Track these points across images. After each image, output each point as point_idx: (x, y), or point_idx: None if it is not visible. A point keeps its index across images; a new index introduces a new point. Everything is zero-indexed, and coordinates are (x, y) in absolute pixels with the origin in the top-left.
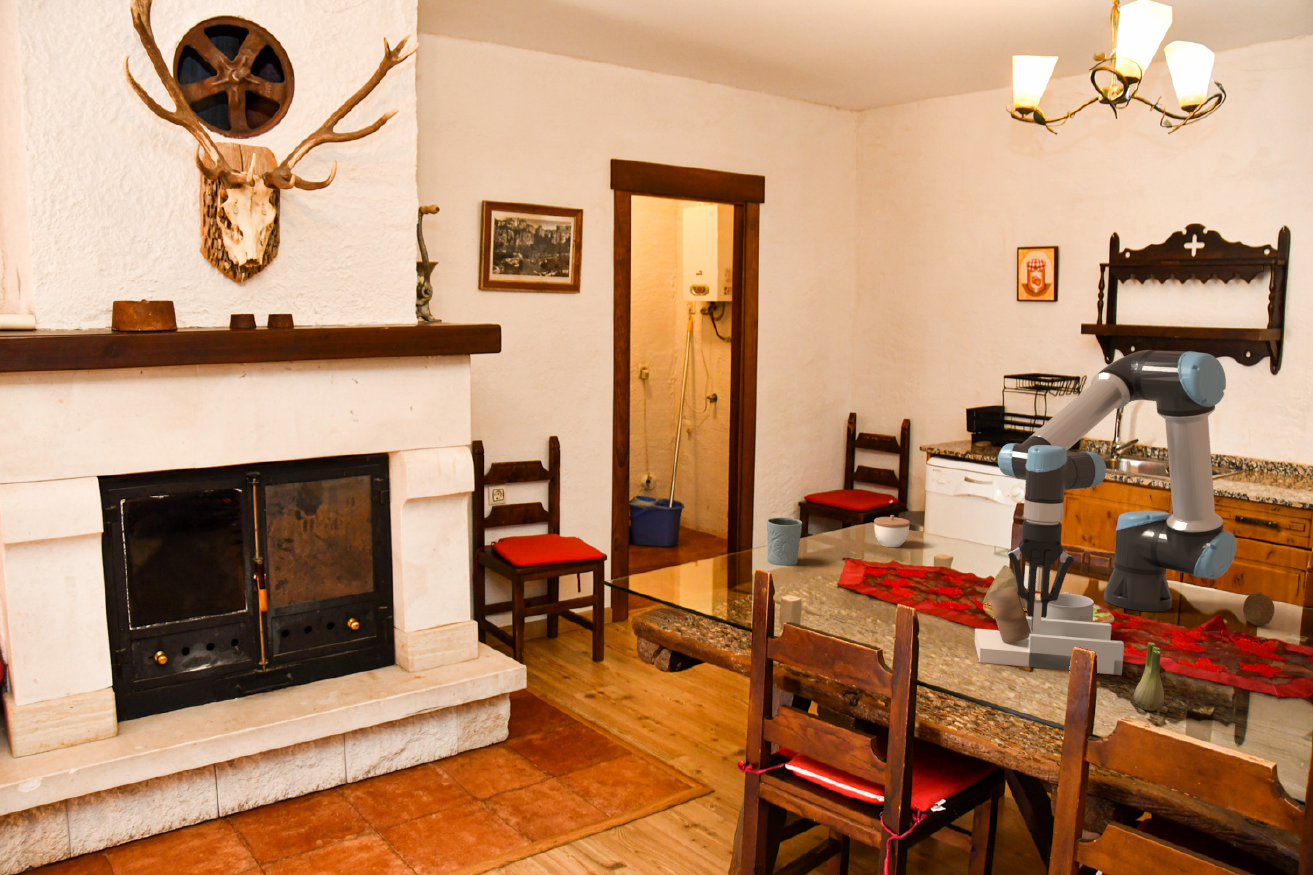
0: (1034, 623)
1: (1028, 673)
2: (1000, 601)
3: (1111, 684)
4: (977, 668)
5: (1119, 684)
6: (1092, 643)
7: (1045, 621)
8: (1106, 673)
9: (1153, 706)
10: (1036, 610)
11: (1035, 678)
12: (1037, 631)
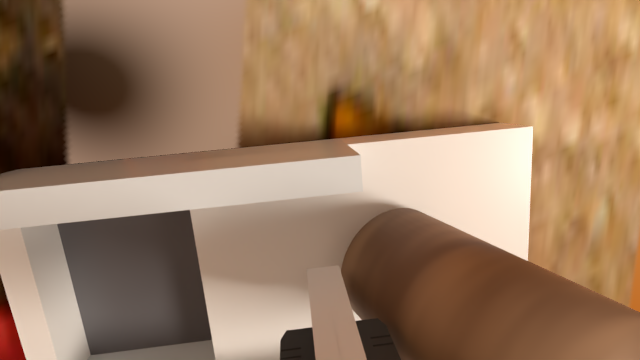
0: (339, 289)
1: (342, 66)
2: (605, 297)
3: (50, 51)
4: (513, 55)
5: (22, 62)
6: (63, 182)
7: None
8: (71, 164)
9: None
10: (344, 334)
11: (321, 18)
12: (319, 273)
